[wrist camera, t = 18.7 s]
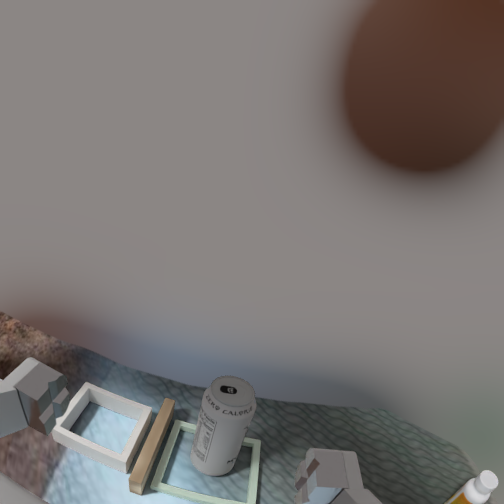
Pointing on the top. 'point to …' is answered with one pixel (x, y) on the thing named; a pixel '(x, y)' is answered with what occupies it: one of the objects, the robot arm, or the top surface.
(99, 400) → the socket
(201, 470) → the energy drink can
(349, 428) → the top surface
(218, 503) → the socket
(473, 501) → the supplement bottle
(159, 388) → the top surface
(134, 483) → the rail
